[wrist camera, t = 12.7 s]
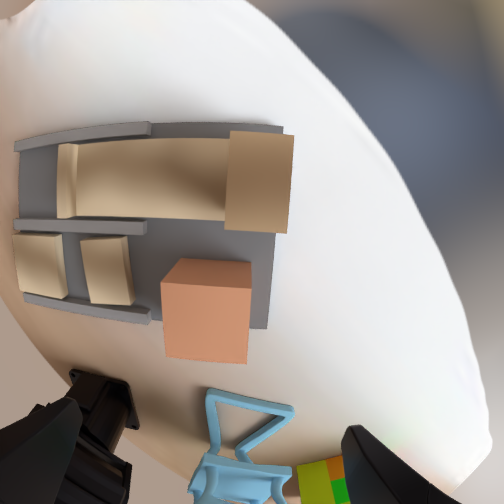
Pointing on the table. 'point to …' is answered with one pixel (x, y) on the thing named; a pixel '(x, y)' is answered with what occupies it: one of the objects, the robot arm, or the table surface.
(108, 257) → the pair of tan slabs
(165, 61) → the table surface
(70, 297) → the lane bed
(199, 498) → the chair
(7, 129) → the table surface
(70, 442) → the robot arm
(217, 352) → the cube
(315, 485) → the puzzle toy
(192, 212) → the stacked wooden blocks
